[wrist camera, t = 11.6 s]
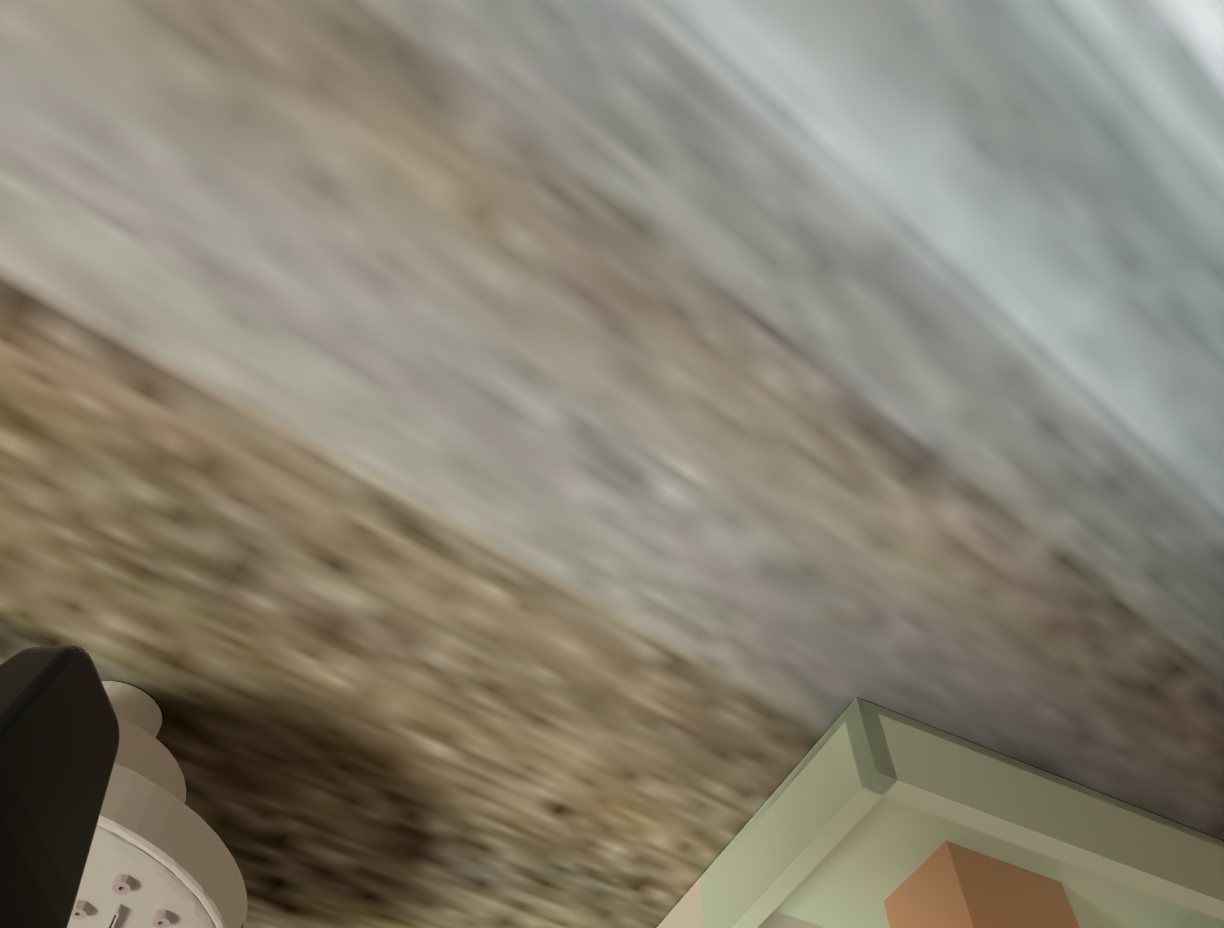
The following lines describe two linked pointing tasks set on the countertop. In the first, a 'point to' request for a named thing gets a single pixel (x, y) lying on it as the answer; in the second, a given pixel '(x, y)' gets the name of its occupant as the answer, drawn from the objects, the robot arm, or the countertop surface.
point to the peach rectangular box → (977, 895)
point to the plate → (687, 915)
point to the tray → (950, 835)
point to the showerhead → (153, 840)
